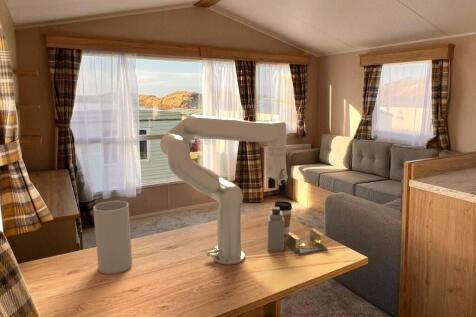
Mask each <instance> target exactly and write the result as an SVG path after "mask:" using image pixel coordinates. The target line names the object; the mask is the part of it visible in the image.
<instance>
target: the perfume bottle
mask: <svg viewBox="0 0 476 317" xmlns="http://www.w3.org/2000/svg"><path fill="white" fill-rule="evenodd" d="M268 212H269V215H267V217H266V218H267V221H266V222H267V223H266V224H267V225H266V226H267V227H266V230H267V233H266V234H267V235H266V236H267V238H266V245H267V246H266V247H267V251H268V252H284V251H285V244H284V241H285V235H284V222H285V221H284V218H283V214H282V211H280V207H274V206H271V210H269V211H268Z"/></svg>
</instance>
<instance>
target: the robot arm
mask: <svg viewBox="0 0 476 317" xmlns="http://www.w3.org/2000/svg"><path fill="white" fill-rule="evenodd" d="M194 138H195V139H199V140H200V139H203V140H204V139H205V140H221V141H235V142H250V143H252V142H253V143H254V142H255V143H267V159H266V174H265V175H266V176H267V189H274V188H275V189H276V181H278V188H277V189H278V192H277V193H278V195H286V194H287V183H288V178H289V176H288V174H287V158H286V156H287V123H286V122H285V121H282V120H280V121H279V120H275V121H273V120H272V121H251V120H250V121H249V120H243V119H238V118H233V117H221V116H210V115H209V116H208V115H207V116H206V115H200V114H190V115H188V116H186V117H184V119H182V120H181V121H179V123H177V124H176V125H175V126H174V127H172V128H171V129H170V130H168V131H167V132H166V133H165V134H164V135H163V136H162V138H161V139H160V141H159V142H160V143H159V146H160V147H159V148H160V149H161V152H162V153H163V154H165V155H167V161H168V162H167V163H168V167H169V169H170V172H171V173H172V174H173V175H174V176H175V177H176V178H177V179H179V180H181V181H183V182H184V183H186V184H187V185H189V186H191V187H192V188H193V189H195V190H196V191H198V192H200V193H202V194H204V195H206V196H207V197H210V198H211V199H213V200H215V201H216V202H218V209H217V216H216V220H217V221H216V222H217V225H216V226H217V229H216V232H217V245H216V246H215V248H214V249H213V250H207V251H205V254H206V257H209V256H210V257H211V258H213V259H214V261H215V262H217V263H219V264H222V265H228V266H229V265H237V264H240V263H242V262H243V261H244V260H245V258H246V254H245V253H244V252H243V251H242V206H243V200H244V196H243V194H244V193H243V191H242V189H241V188H240V187H239V186H238V185H237V184H235V183H233V182H232V181H229V180H227V179H226V178H224V177H222V176H220V175H219V174H217V173H215V172H214V171H213V170H212V169H210V168H207V167H206V166H203V165H201V164H200V163H198V162H196V161H195V160H194V159H192V156H191V147H190V142H191V141H192V140H193V139H194Z"/></svg>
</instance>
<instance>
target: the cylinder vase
mask: <svg viewBox="0 0 476 317" xmlns="http://www.w3.org/2000/svg"><path fill="white" fill-rule="evenodd" d="M92 209H93V218H94V232H95V242H96V244H95V245H96V254H97V267H98V270H99V272H101V273H103V274H104V275H105V274H106V275H114V274H120V273H121V274H122V273H123V272H126V271H127V270H129V269H130V268H131V267H132V265H133V256H132V253H133V252H132V240H131V238H132V237H131V223H130V209H129V202H127V201H124V200H110V201H104V202H103V201H102V202H99V203H97V204H95V205H93V208H92Z"/></svg>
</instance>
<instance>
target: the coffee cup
mask: <svg viewBox="0 0 476 317" xmlns="http://www.w3.org/2000/svg"><path fill="white" fill-rule="evenodd" d="M273 207H280V211H282V214H283V218H284V221H285V222H284V236H285V235H286V236H287V233H288V232H290V226H291V225H290V224H291V216H292V210H293V206H292V203H291V202H289V201H285V200H279V201H278V200H277V201H275V203H274V206H273Z"/></svg>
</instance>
